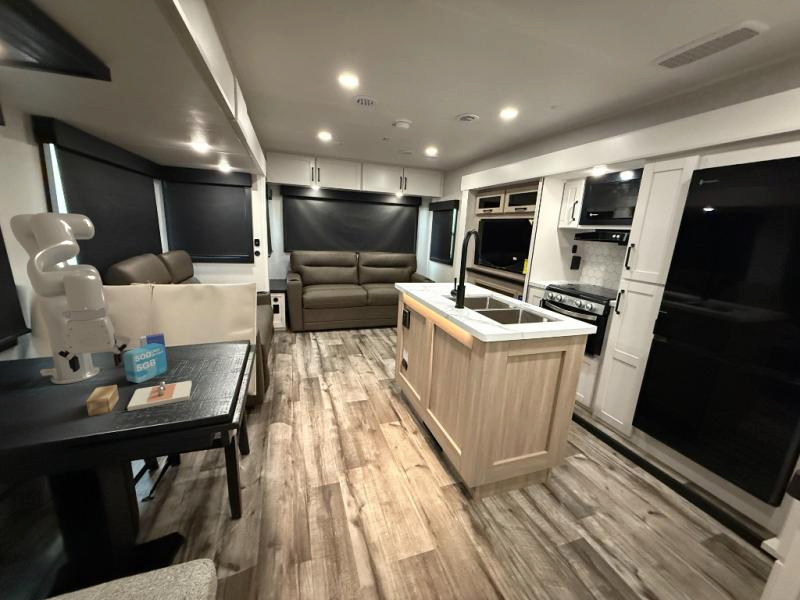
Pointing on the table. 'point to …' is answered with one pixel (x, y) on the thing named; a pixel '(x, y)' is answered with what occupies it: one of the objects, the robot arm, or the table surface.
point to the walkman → (153, 340)
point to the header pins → (161, 388)
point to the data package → (145, 362)
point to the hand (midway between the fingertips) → (98, 367)
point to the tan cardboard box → (102, 400)
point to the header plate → (151, 398)
